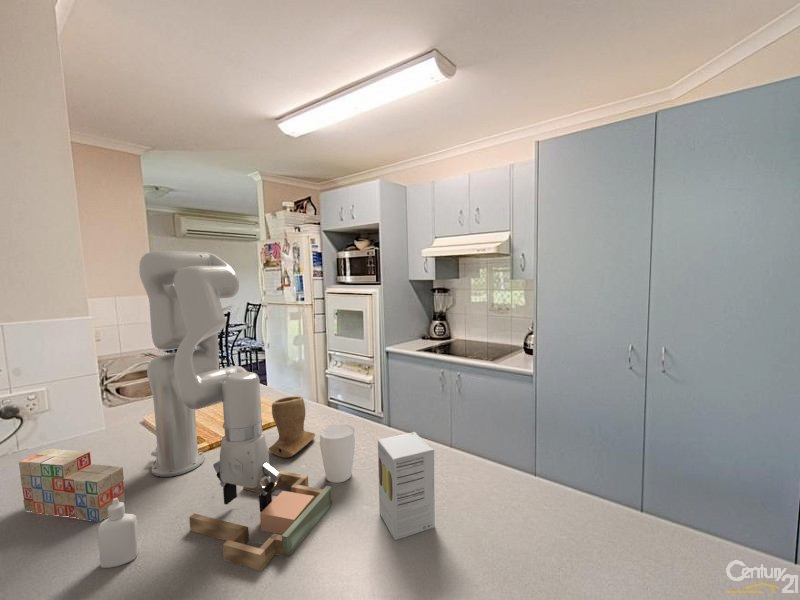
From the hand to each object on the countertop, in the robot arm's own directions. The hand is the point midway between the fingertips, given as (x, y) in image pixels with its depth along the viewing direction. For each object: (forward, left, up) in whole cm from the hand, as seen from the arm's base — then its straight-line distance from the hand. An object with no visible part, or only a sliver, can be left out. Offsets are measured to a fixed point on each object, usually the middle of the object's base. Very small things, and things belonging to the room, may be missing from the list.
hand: (248, 504), depth 80 cm
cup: (+12, +19, -2) cm, 23 cm away
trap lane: (+4, 0, -2) cm, 5 cm away
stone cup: (-10, +29, -2) cm, 31 cm away
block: (+10, +1, -2) cm, 10 cm away
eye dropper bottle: (-14, -18, -2) cm, 23 cm away
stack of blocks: (-40, -10, -2) cm, 41 cm away
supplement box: (+34, +8, -2) cm, 35 cm away
